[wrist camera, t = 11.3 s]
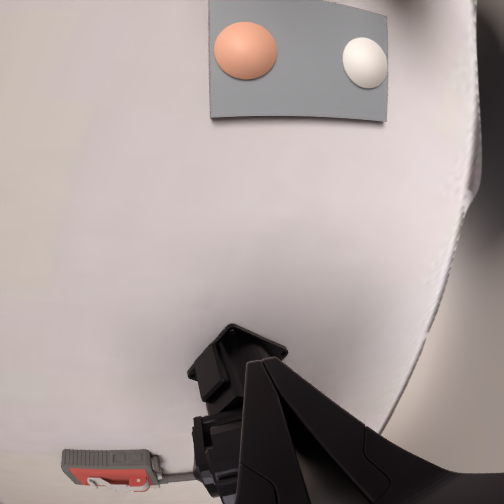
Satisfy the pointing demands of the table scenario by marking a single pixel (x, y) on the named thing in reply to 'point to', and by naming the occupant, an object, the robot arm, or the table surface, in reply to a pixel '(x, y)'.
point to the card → (297, 59)
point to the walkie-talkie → (117, 469)
